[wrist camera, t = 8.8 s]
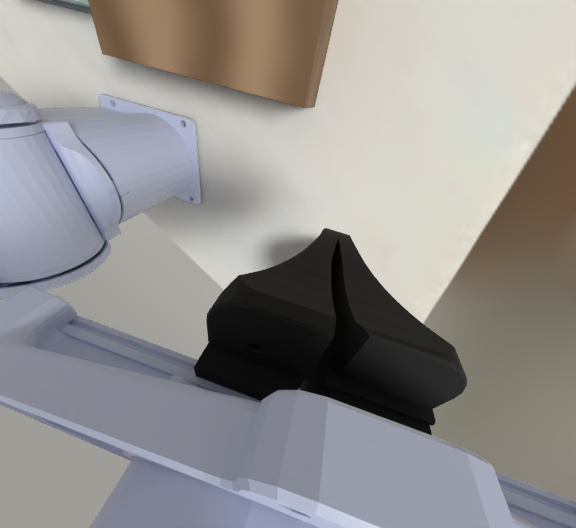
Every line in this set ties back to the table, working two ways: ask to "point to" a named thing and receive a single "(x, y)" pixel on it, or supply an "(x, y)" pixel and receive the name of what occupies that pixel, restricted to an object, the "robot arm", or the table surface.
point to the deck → (224, 41)
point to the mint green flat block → (78, 2)
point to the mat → (69, 5)
